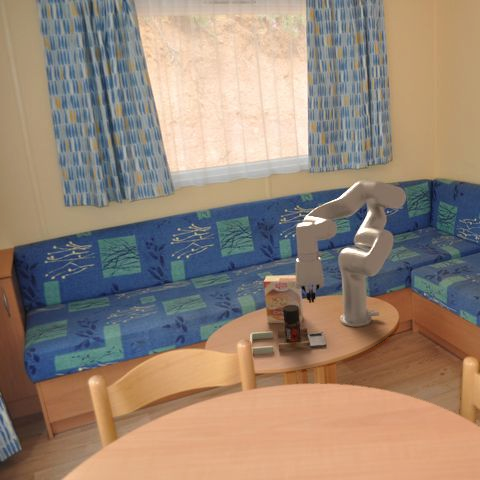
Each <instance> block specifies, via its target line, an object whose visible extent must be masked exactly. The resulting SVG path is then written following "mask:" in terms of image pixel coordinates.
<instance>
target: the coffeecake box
mask: <svg viewBox="0 0 480 480" xmlns="http://www.w3.org/2000/svg"><path fill="white" fill-rule="evenodd" d="M296 282H297V281H296V274H294V275H292V274H291V275H290V274H289V275H285V274H284V275H265V279H264V280H263V287H264V298H265V308H266V317H267V318H266V319H267V323H268V324H284V314H283V307H284V306H287V305H296V306H298V307H299V320H300V324H302V323H303V320H304V319H303V318H304V311H303V310H304V307H303V296H302V294H303V293H302V289H298V288H296Z"/></svg>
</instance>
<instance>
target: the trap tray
mask: <svg viewBox="0 0 480 480" xmlns="http://www.w3.org/2000/svg"><path fill="white" fill-rule="evenodd" d="M307 339H308V341H310V347H311V349H315V348H327V343H326V339H325V336H324V333H323V331H321V332H309V333H308V336H307Z"/></svg>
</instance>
